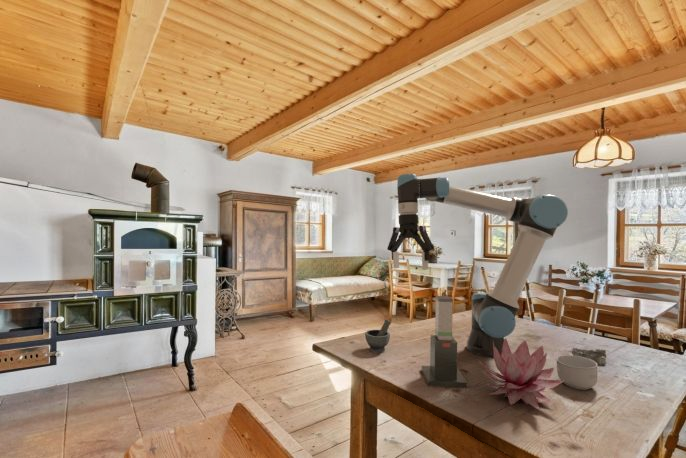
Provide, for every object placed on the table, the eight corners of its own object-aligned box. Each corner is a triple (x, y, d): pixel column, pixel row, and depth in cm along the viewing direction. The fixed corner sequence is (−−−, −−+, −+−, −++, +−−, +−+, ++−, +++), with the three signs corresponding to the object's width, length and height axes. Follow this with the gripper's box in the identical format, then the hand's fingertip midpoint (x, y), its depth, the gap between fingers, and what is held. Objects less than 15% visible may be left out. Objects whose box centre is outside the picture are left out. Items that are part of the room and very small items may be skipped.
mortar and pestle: (372, 356, 129) (373, 325, 129) (360, 348, 137) (361, 318, 137) (396, 351, 134) (397, 321, 134) (384, 344, 142) (384, 316, 142)
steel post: (448, 355, 113) (449, 296, 113) (452, 361, 108) (452, 299, 108) (434, 355, 113) (435, 295, 113) (437, 360, 108) (438, 298, 108)
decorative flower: (504, 375, 113) (505, 330, 113) (575, 403, 95) (576, 350, 95) (463, 391, 102) (464, 341, 102) (535, 426, 84) (536, 366, 84)
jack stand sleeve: (456, 371, 116) (457, 333, 116) (467, 387, 104) (467, 345, 104) (421, 369, 117) (421, 332, 117) (428, 385, 105) (428, 344, 105)
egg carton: (607, 361, 128) (607, 350, 128) (604, 366, 123) (604, 355, 123) (573, 353, 135) (574, 343, 135) (569, 358, 130) (570, 347, 130)
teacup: (599, 397, 99) (599, 370, 99) (555, 387, 105) (556, 361, 105) (594, 379, 111) (594, 355, 111) (555, 371, 117) (555, 348, 117)
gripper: (377, 216, 138) (379, 268, 137) (430, 211, 119) (433, 271, 119) (389, 216, 143) (391, 266, 142) (441, 211, 124) (444, 269, 124)
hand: (410, 268), depth 130 cm, fingers open, 13 cm apart
